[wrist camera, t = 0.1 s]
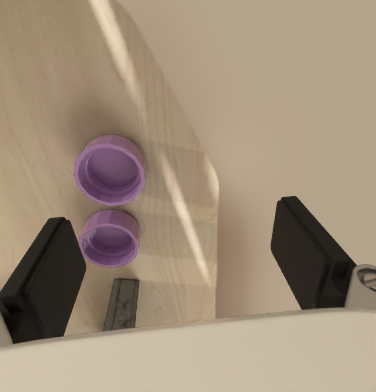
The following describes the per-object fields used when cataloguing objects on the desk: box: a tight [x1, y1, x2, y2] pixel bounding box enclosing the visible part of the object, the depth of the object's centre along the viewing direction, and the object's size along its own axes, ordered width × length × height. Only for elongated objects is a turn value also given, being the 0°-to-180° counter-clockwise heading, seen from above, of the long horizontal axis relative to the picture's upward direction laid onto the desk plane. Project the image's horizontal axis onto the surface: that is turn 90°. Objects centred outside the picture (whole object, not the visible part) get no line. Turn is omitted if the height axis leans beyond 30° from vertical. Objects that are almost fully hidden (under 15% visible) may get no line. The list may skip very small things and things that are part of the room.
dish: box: [78, 210, 141, 268], centre depth 31 cm, size 7×7×3 cm
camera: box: [103, 279, 139, 331], centre depth 37 cm, size 16×4×10 cm, turn 168°
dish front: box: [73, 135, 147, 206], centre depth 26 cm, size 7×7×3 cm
